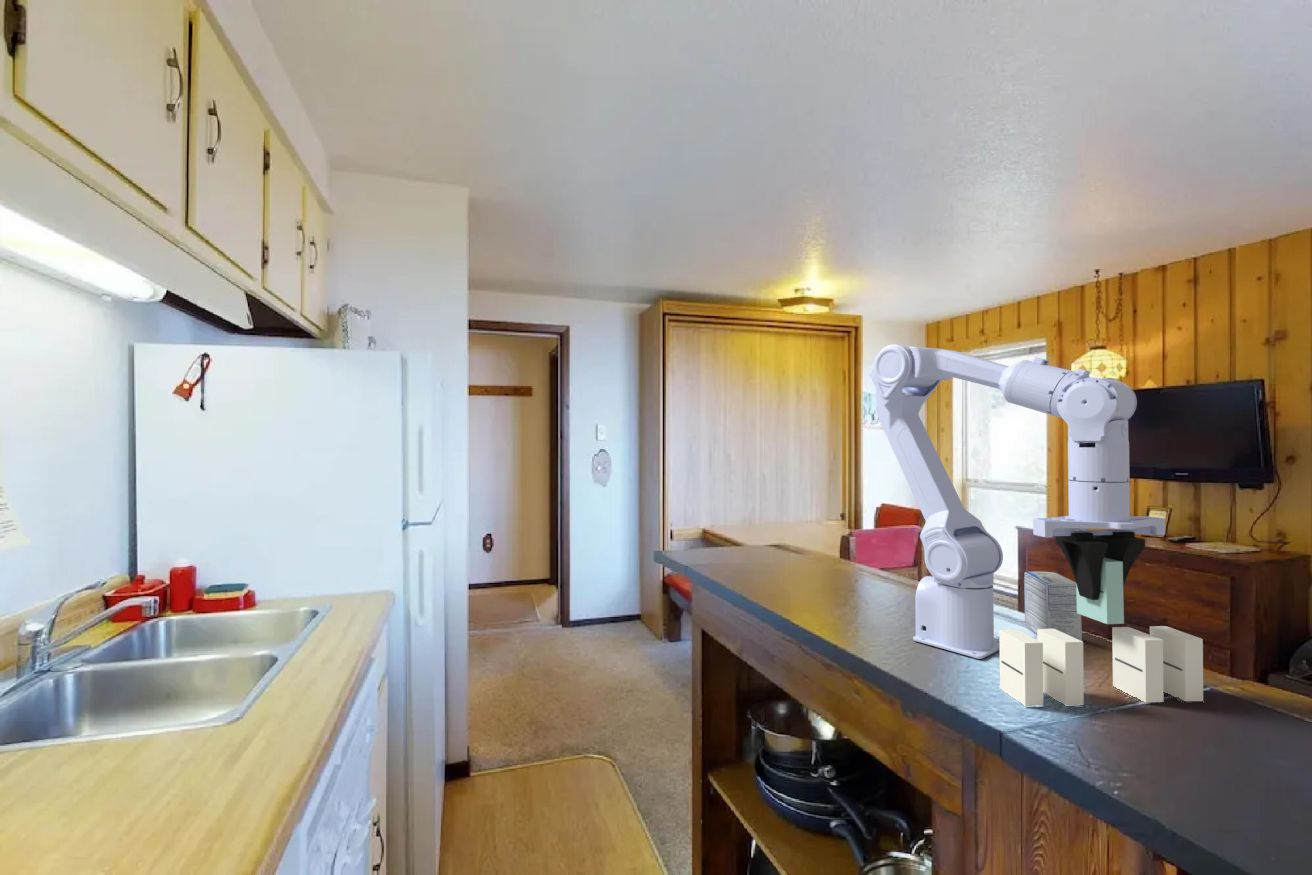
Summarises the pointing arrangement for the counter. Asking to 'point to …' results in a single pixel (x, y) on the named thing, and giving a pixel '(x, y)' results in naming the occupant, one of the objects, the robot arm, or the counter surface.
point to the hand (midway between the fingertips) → (1099, 597)
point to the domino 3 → (1106, 595)
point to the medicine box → (1051, 603)
